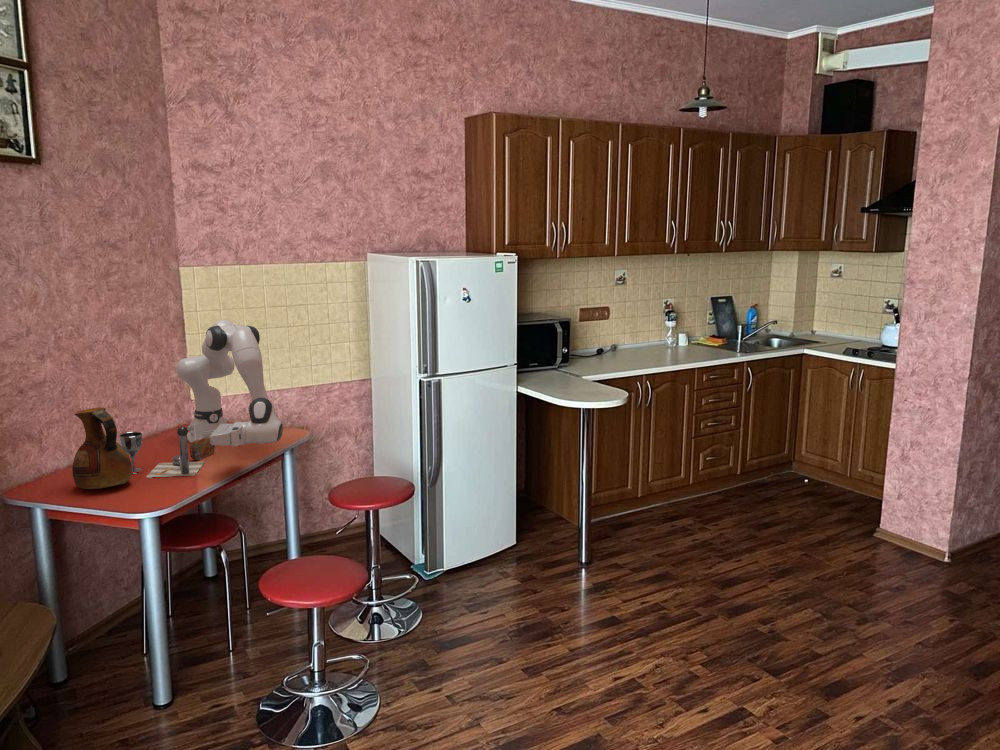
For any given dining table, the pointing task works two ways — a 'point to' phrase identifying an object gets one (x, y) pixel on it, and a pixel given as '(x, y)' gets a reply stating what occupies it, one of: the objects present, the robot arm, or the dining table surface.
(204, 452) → the tin
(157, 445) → the dining table surface
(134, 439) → the silver goblet
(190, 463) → the beige square panel
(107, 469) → the ceramic pitcher
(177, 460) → the lever
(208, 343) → the robot arm
